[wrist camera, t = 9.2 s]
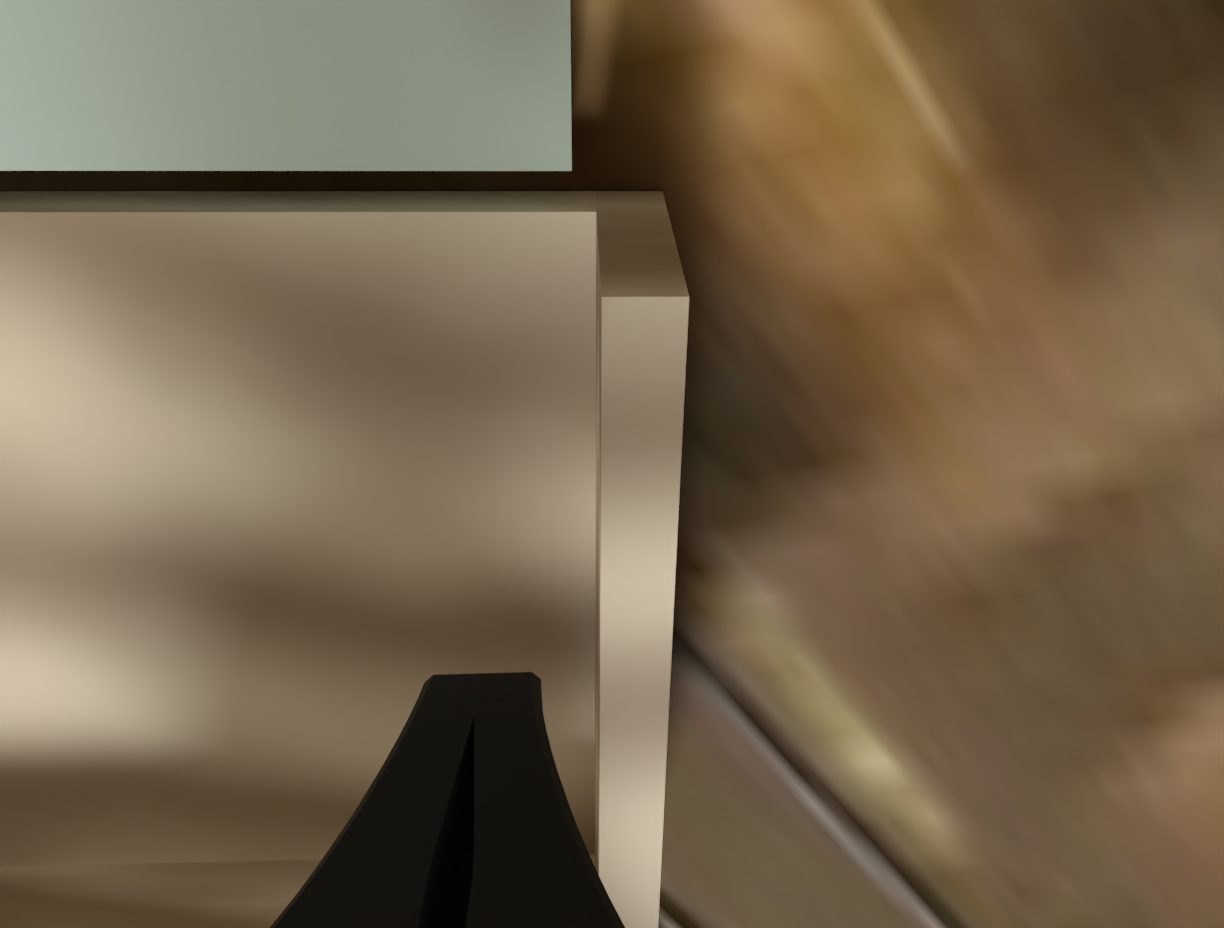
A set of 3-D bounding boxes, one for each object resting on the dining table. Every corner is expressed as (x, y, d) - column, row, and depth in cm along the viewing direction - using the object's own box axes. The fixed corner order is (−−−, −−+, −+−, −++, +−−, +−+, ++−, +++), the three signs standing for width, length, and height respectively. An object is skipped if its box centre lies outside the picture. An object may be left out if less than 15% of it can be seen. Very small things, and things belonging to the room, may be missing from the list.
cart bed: (640, 846, 28) (652, 1032, 23) (-243, 863, 27) (-398, 1060, 23) (662, 190, 19) (689, 296, 15) (-648, 191, 18) (-1029, 302, 14)
